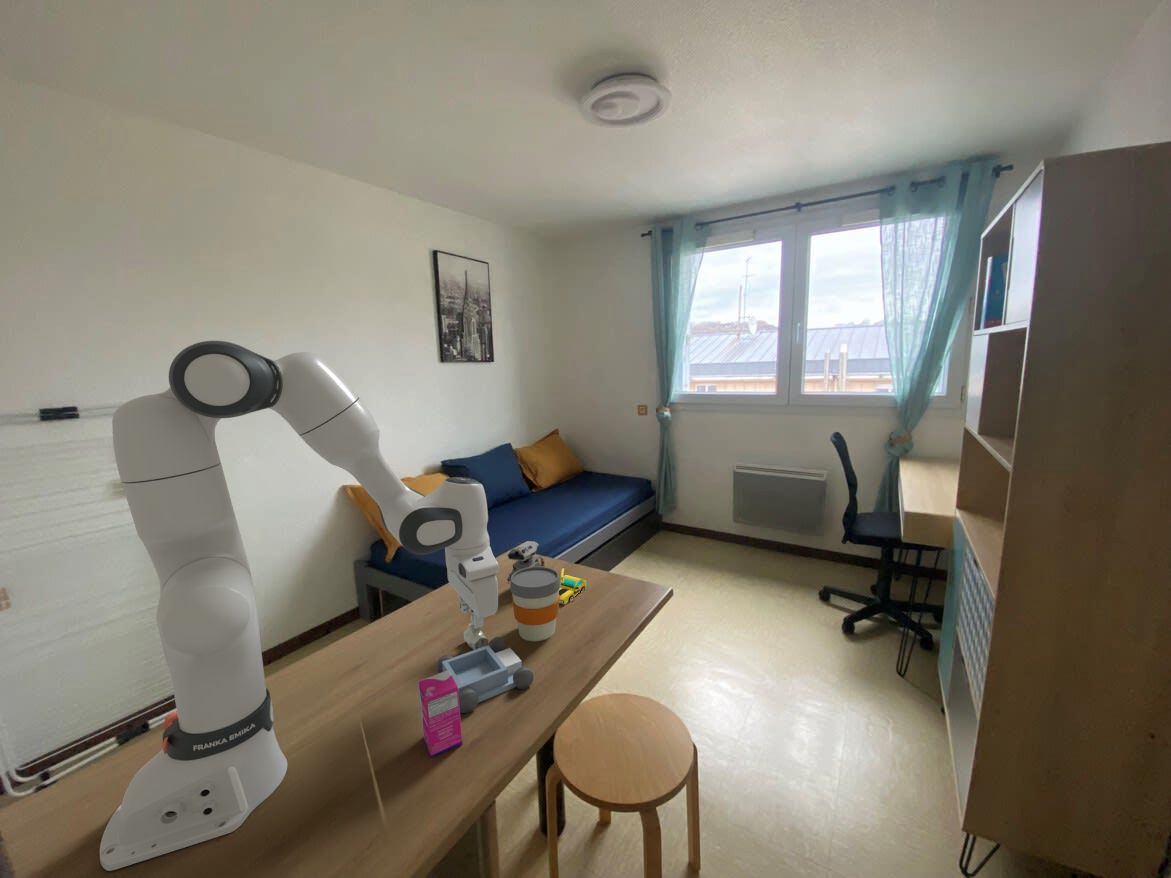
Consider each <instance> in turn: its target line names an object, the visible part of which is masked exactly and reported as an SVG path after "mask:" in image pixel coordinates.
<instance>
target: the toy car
mask: <svg viewBox="0 0 1171 878" xmlns="http://www.w3.org/2000/svg"><path fill="white" fill-rule="evenodd" d="M564 571H565V568H561V573H560V584H561V587H560V589H559V595H560V601H559V604H562V605H567V604H569V603H568V602H570V601H572V600H573V599H574V598H576V597H577V596H578V595H579V594H578V593H579V592H580V591H583V590H584V589H585V587H586V588H587V584H588V583H587V580H585V579H583V578H578V577H575V576H571V575H567V574H565V575H564ZM583 592H584V591H583ZM577 594H578V595H577ZM576 595H577V596H576ZM575 596H576V597H575ZM573 601H574V600H573ZM573 601H572V602H573ZM570 603H571V602H570Z"/></svg>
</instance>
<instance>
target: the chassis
mask: <svg viewBox="0 0 1171 878" xmlns="http://www.w3.org/2000/svg"><path fill="white" fill-rule="evenodd" d="M507 647H508V645H507V642H506V641H505V640H504V638H502V637H501V636H496V637H493V638H492V639H491V640H490V641H489V642H488V646H485V647H482V648H479V649H476V650H471V651H468V652H466V653H462V654H460V655H457V656H454V657H453V656H452V655H451V654H444V655H442V656H440V657H439V659H437V661H436V663H435V668H436V671H437V672H438V673H437V674H439V673H441V672H444V671H446V670H449V671H450V673H451V675H452V677H453V678H454V680H455V682H456V684H457V686H458V694H459V706H460V713H462V714H469V713H471V712H473V711H474V710H475V709H476V708H477V707H478V705H479V703H481V702H484V701H485V700H486V701H487V700H488V699H491V698H493V697H495V696H498V695H500V694H502V693H505V692H507V691H510V690H512V689H514V688H516V687H517V688H518V689H519V690H525V689H527V688H529V687H530V686H531V685H532V684H533V681H534V672H532V670H531V669H530V667H528V666H525V665H523V663H522V659H520V657H519V656H518V655H517V654H516V653H515V651H514V650H513V649H512V648H510V647H508V648H507Z"/></svg>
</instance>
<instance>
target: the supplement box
mask: <svg viewBox="0 0 1171 878" xmlns="http://www.w3.org/2000/svg"><path fill="white" fill-rule="evenodd" d="M417 685H418V686H417V687H418V697H419V707H420V709H419V710H420V717H421V726H422V728H421V729H422V737H423V739H424V743H425V744H426V747H427V749H428V752H429V755H430V758H434V757H436V756H438V755H441V754H443V753H445V752H447V751H449V750H452V749H454V748H456V747H458V746H462V745H463V744H464V743H463V732H462V731H463V730H462V719H461V711H460V706H459V694H458V686H457V684H456V682H455V680H454V678H453V677H452V675H451V673H450V671H449V670H446V671H444V672H441V673H437V674H434V675H432V676H429V677H426V678H423V679H420V680H418V681H417Z"/></svg>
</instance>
